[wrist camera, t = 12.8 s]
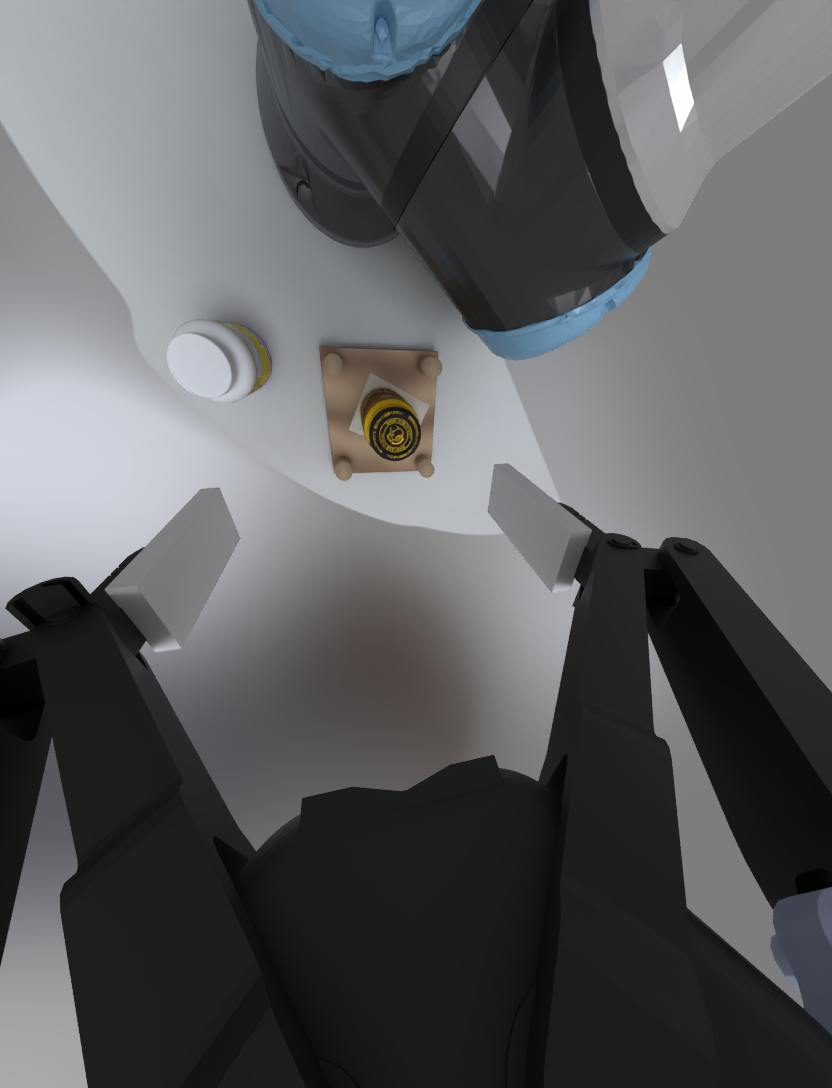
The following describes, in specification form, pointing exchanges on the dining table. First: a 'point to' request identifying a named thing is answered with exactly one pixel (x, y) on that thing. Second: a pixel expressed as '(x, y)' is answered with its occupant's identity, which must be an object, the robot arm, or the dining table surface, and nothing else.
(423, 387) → the peg holder
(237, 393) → the supplement bottle
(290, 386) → the dining table surface
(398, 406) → the condiment
